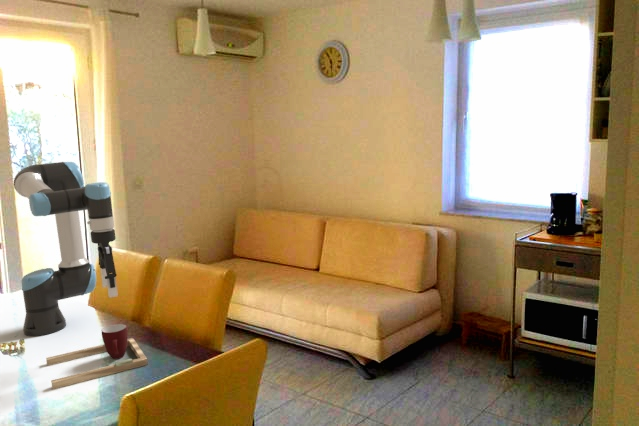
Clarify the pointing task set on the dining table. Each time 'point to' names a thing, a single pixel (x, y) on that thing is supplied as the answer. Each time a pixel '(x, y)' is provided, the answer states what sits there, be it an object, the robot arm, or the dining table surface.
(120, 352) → the mug
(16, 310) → the dining table surface
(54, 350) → the dining table surface
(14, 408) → the dining table surface
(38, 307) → the robot arm
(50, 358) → the track
